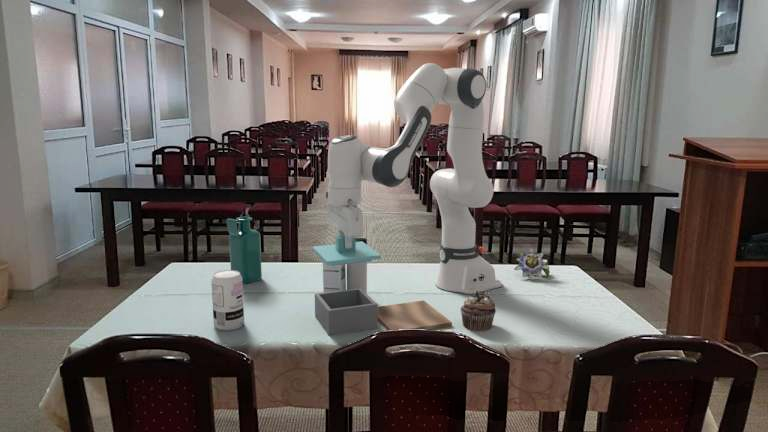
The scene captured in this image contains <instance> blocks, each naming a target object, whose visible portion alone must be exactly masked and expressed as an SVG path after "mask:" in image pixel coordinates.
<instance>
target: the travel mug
mask: <svg viewBox="0 0 768 432" xmlns="http://www.w3.org/2000/svg"><path fill="white" fill-rule="evenodd" d="M361 241H362V242H364V243H365V244H366V245H368V242H367V241H368V238H364V237H358V238H356V242H361ZM367 279H368V262H361V263H352V264H346V290H348V289H357V288H361V289H362V290H363V291H364V292H365V293H366V294H367V295H368V290H367V289H368V288H367V287H368V283H367V281H368V280H367Z"/></svg>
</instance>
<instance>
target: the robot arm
mask: <svg viewBox="0 0 768 432" xmlns="http://www.w3.org/2000/svg"><path fill="white" fill-rule="evenodd" d="M486 91H487V81H486V78H485V76H484V74H483V72H482V71H480V70H478V69H475V68H471V67H469V68H462V67H450V68H442V67H441V66H440V65H438V64H437V63H433V62H428V63H427V62H426V63H424V64H422V65H420V67H419V68H417V69H416V70H415V71H414V72H413V73H412V74H411V75H410V76H409V77H408V79H406V81H405V82H404V84H403V85H402V86H401V87H400V88H399V90H398V92H397V94H396V95H395V98H394V100H393V106H394V107H393V108H394V111H395V113H396V115H397V116H398V118H400V120H401V121H402V122H403V123H404V124H405V126H404V128H403V130H402V132H401V134H400V135H399V137H398V139H397V141H396V143H395V144H394V145H392V146H390V147H386V148H384V147H378V146H373V145H370V144H367V143H365V142H363V141H362V140H360V139H359V138H358V136H356V135H352V134H347V135H339V136H336V137H334V138H333V139H332V140H330V142H329V145H328V152H327V172H328V174H329V176H328V177H329V181H328V185H327V188H328V189H327V190H325V193H324V195H325V196H324V197H325V199H326V200H327V201H326V202H327V214H328V215H327V216H328V220H329V223H331V224H332V226H334V227H336V228H337V232H338V236H345V241H344V247H345V248H351V247H352V240H353V238H363V235H364V220H363V219H364V217H363V212H362V209H361V208H360V207H359V206H358V205H359V204H360V205H361V203H362V181H367V182H370V183H376V184H379V185H381V186H385V187H388V188H395V187H398V186H400V185H401V184H403V182H404V181H405V180H406V179H407V176H408V175H409V173H410V169H411V165H412V163H413V160H414V158H415V156H416V155H417V152H418V150H419V148H420V146H421V144H422V143H423V141H424V139H425V137H426V135H427V133H428V130H429V128H430V125H431V123H432V114H431V113H432V111H433V110H434V108H435V106H436V105H437V104H440V105H446V106H450V109H451V110H450V114H449V120H448V133H447V141H446V152H447V154H448V155H449V157H450V158H451V160H452V165H453V168H443V169H439V170H436V171H435V172H434V173H433V174H432V176H431V178H430V180H429V188H430V190H431V192H432V194H433V195H434V197H435V199H436V202H437V205H438V209H439V214H440V216H441V217H440V218H441V243H440V245H439V246H440V247H439V260H440V261H439V267H438V268H439V269H438V273H437V278H436V280H435V286H436V287H437V288H439V289H442V290H445V291H447V292H456V293H461V294H462V293H463V294H466V295H467V294H468V295H470V294H471V295H472V294H473V293H475V292H476V291H478V292H479V293H480V292H481V293H482V292H486V291H489V290H493V289H494V290H495V289H497V288H501V287H502V286H503V285H502V284H503V283H502V281H501V280H500V279H499V278H498V277H496V272H495V268H494V266H493V265H492V264H491V263H490V262H489V261H487V260H486V259H484V258H483V257H482V256H481V255H480V254H484V253H485V252H486V248H485V247H483V246H481V245H480V246H479V245H477V244H476V229H477V227H476V225H477V224H476V221H475V219H474V217H473V216H472V214H471V212H470V210H469V208H471V209H472V208H473V209H474V208H477V209H478V208H484V207H486V206H487V205H488V204H489V203H491V201H492V198H493V196H494V185H493V182H492V181H491V179H490V178H489V177H488V175H487V173H486V170H485V166H484V162H483V152H482V151H483V135H484V125H485V114H484V113H485V112H484V110H485V109H484V100H483V99H484V97H485V95H486Z"/></svg>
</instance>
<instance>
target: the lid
mask: <svg viewBox="0 0 768 432" xmlns="http://www.w3.org/2000/svg"><path fill="white" fill-rule="evenodd" d="M334 238H335V239H334V240H335V243H334V244H325V245H317V246H316V245H315V246H312V247H311V248H312V251H313V252H314V253H315V254H316V255H317V256H318V258H320V259H321V261H322V262H323V261H324V262H325V263H326V264H327V265H332V266H336V265H344V264H345V265H347V264H352V263H361V262H367V263H368V262H373V261H374V260H381V259H382V255H381V254H380V253H379V252H377V251H376V250H374V248H372V247H370V246H369V245H368V244H367V245H366V244H365V243H364V242H362V241H361V242H356V238H353V240H352V247H351V248H345V247H344V241H345V236H339V235H338V236H335V237H334Z"/></svg>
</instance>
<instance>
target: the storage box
mask: <svg viewBox="0 0 768 432" xmlns="http://www.w3.org/2000/svg"><path fill="white" fill-rule="evenodd" d="M378 305H379V304H378V303H377V302H376V301H375V300H374V299H373V298H372V297H370V295H369V294H368V293H367V294H366V293H365V292H364V291H363V290H362V289H361V288H357V289H348V290H347V289H346V290H340V291H332V292H324V293H323V292H316V293H314V317H315V319H316V320H317V322H318V323H319V324H320V325H321V327H322V328H323V330H324V331H325V332H326V333H327V335H328V336H333V335H340V334H348V333H353V332H360V331H366V329H368V330H373V329H372V328H375V329H378V320H377V315H378V307H379V306H378Z"/></svg>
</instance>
